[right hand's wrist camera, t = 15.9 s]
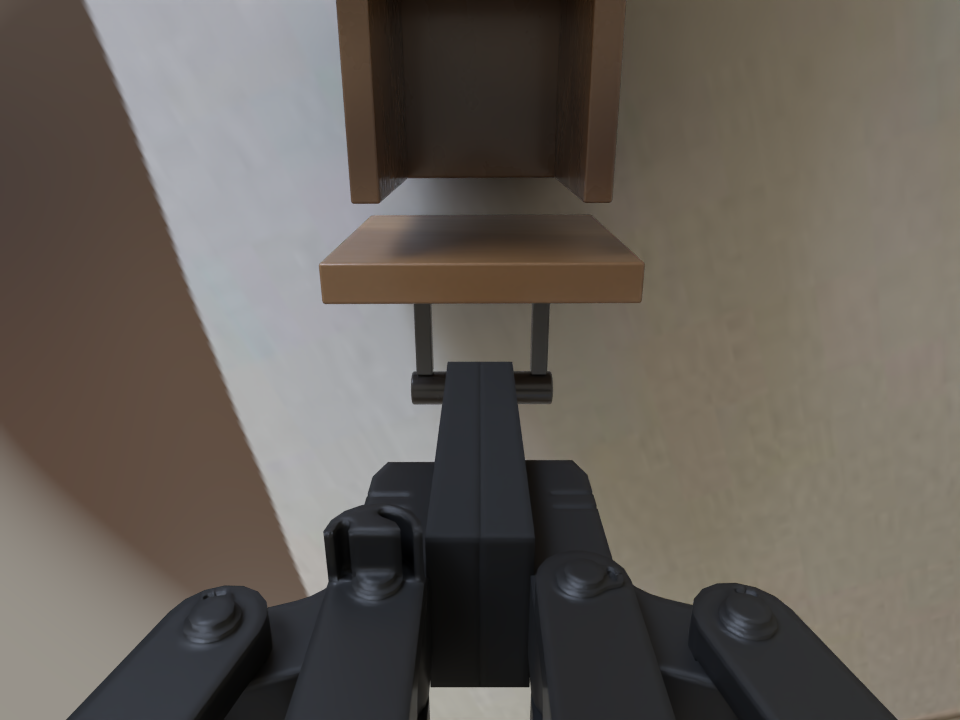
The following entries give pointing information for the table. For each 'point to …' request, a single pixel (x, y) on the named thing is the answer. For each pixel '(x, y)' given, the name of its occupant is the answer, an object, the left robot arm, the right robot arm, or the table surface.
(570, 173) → the drawer
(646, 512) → the table surface
